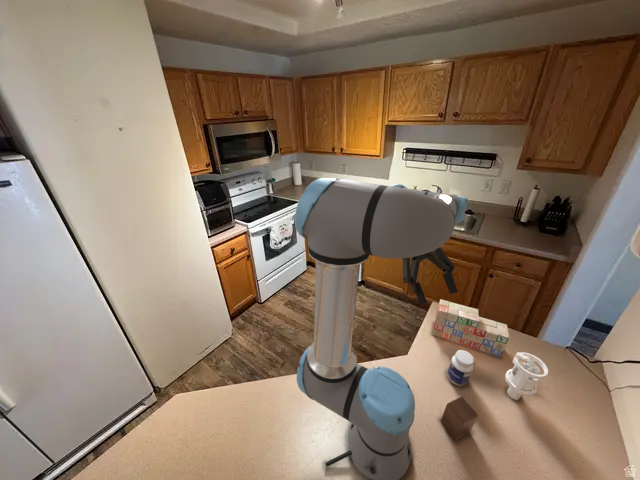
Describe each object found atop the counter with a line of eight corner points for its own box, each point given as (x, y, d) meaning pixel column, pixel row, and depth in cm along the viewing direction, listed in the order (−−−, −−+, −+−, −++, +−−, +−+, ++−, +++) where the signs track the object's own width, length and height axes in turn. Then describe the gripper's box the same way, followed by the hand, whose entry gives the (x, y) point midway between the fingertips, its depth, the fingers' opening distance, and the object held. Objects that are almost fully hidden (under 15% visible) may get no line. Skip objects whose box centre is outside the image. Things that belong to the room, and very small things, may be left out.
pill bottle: (442, 372, 81) (449, 351, 76) (456, 366, 83) (464, 345, 78) (457, 389, 76) (465, 368, 72) (471, 382, 78) (480, 361, 73)
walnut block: (455, 440, 65) (463, 423, 61) (440, 420, 69) (447, 403, 65) (470, 431, 67) (478, 415, 63) (454, 412, 71) (462, 396, 67)
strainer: (503, 377, 79) (520, 345, 72) (531, 394, 75) (552, 361, 67) (495, 393, 75) (513, 360, 68) (524, 412, 70) (546, 379, 63)
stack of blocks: (498, 343, 90) (510, 318, 84) (500, 357, 85) (512, 331, 79) (433, 322, 99) (440, 298, 93) (431, 334, 94) (438, 309, 88)
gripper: (435, 230, 92) (459, 289, 87) (377, 243, 85) (400, 309, 80) (449, 222, 85) (477, 286, 80) (389, 236, 78) (414, 307, 73)
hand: (439, 298), depth 80 cm, fingers open, 11 cm apart
